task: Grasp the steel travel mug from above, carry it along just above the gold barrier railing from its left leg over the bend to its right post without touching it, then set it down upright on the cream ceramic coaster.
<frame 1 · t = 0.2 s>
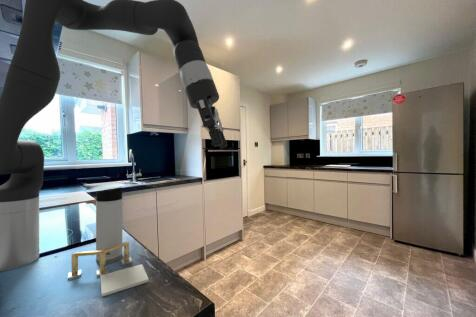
hand: (221, 146, 51), 31 cm above the counter, tool tilted 20°, fingers open, 8 cm apart
gold barrier railing: (102, 273, 50), on the counter
coaster: (124, 279, 48), on the counter
travel mug: (110, 259, 58), on the counter
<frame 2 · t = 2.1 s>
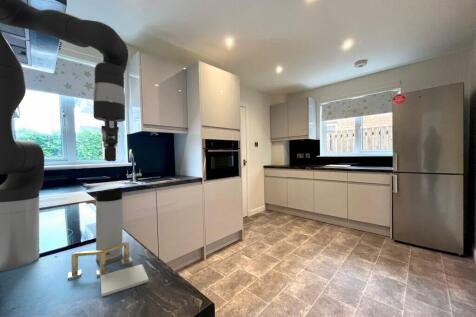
hand: (109, 161, 57), 27 cm above the counter, tool pointing down, fingers open, 8 cm apart
nothing on the counter moved.
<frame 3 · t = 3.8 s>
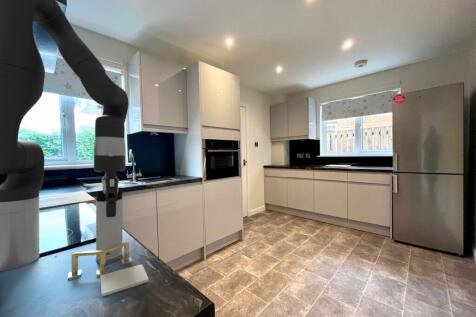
hand: (110, 213, 58), 13 cm above the counter, tool pointing down, fingers closed on travel mug, 6 cm apart
travel mug: (110, 259, 58), on the counter, touching gripper
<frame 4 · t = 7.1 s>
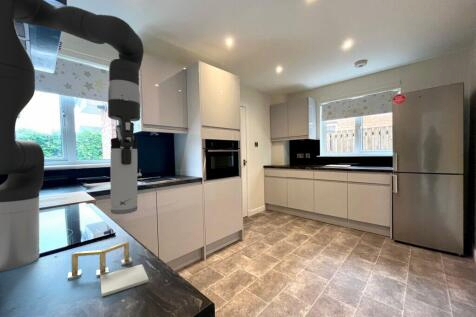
hand: (124, 163, 55), 27 cm above the counter, tool pointing down, fingers closed on travel mug, 6 cm apart
travel mug: (124, 212, 55), point 14 cm above the counter, touching gripper
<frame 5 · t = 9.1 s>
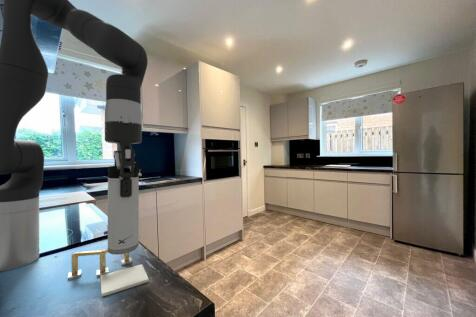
hand: (124, 194, 48), 20 cm above the counter, tool pointing down, fingers closed on travel mug, 6 cm apart
travel mug: (124, 249, 48), point 7 cm above the counter, touching gripper
when the fingers open (15 cm above the counter, at t = 10.6 s): travel mug drops 1 cm, resting on coaster.
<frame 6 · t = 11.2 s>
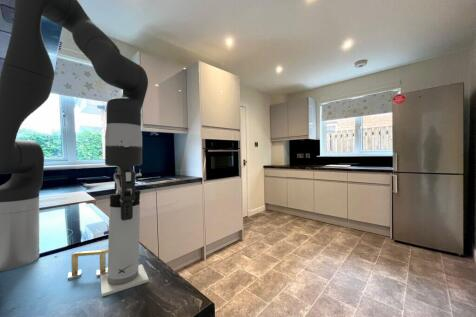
hand: (124, 214, 48), 15 cm above the counter, tool pointing down, fingers open, 8 cm apart
travel mug: (124, 277, 48), point 1 cm above the counter, touching coaster
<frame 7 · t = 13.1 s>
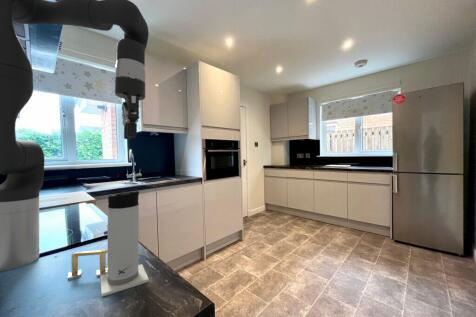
hand: (129, 138, 58), 34 cm above the counter, tool pointing down, fingers open, 8 cm apart
nothing on the counter moved.
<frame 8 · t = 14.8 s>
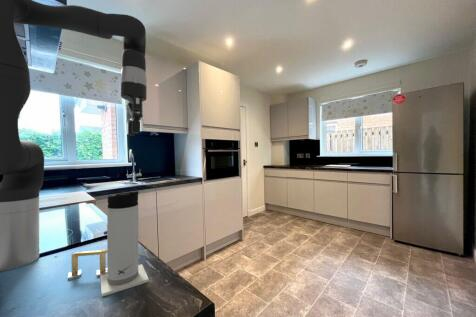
hand: (133, 134, 67), 36 cm above the counter, tool pointing down, fingers open, 8 cm apart
nothing on the counter moved.
at the end: travel mug inside the target area on the coaster (0.1 cm from its centre), point 0.4 cm above the coaster's base; travel mug tilted 0°; travel mug touching coaster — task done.
